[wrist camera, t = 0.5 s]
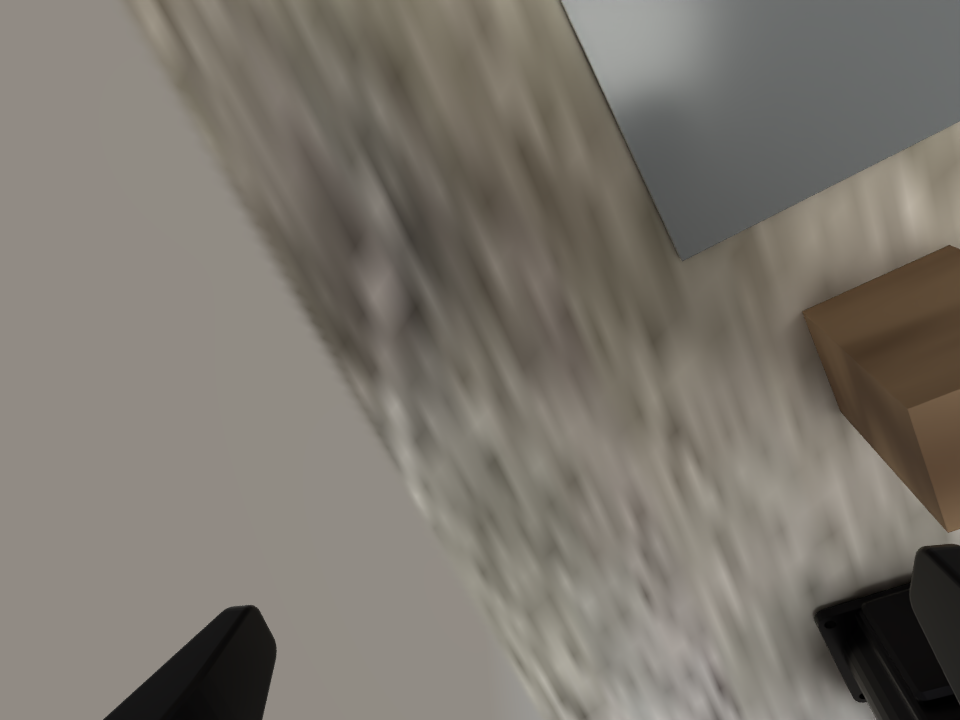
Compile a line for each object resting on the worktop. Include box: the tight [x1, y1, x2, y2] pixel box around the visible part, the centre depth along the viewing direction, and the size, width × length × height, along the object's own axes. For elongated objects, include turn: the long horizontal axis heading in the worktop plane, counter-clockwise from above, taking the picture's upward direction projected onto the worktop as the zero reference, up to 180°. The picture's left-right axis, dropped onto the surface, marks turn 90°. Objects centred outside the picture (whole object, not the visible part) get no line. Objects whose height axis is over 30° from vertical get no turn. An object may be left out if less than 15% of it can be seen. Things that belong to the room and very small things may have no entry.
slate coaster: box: [560, 0, 960, 261], centre depth 15 cm, size 10×10×1 cm
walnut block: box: [802, 245, 960, 533], centre depth 17 cm, size 4×4×6 cm
